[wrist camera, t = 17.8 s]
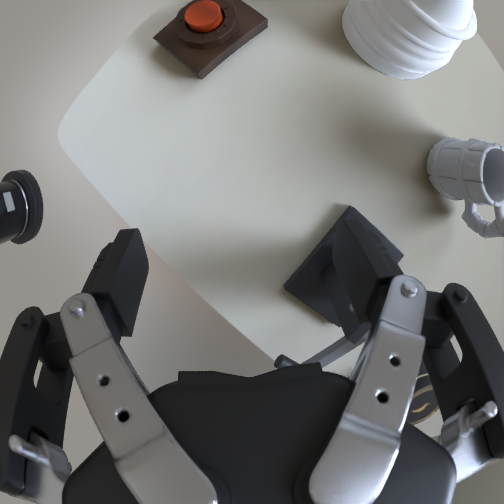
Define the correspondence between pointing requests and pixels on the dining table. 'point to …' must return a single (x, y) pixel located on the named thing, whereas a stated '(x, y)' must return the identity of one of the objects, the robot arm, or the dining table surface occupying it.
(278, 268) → the dining table surface
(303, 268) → the dark stand
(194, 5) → the button
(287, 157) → the dining table surface
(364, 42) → the honey pot
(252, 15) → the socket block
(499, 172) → the mug
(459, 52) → the dining table surface
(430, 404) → the jar
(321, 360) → the switch lever
